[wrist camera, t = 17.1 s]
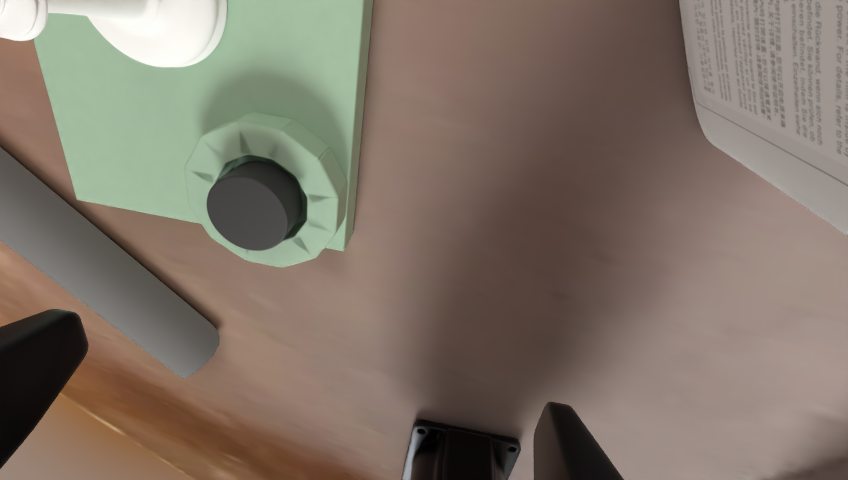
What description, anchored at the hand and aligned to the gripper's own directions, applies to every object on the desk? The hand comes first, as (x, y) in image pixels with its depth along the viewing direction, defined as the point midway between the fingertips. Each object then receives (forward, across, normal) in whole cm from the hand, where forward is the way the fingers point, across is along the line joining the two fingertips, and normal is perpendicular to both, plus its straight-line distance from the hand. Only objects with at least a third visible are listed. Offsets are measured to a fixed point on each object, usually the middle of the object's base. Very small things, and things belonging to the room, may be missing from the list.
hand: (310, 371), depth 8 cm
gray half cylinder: (+12, +17, +7) cm, 22 cm away
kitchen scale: (+12, +8, -3) cm, 14 cm away
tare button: (+9, +5, +1) cm, 10 cm away
